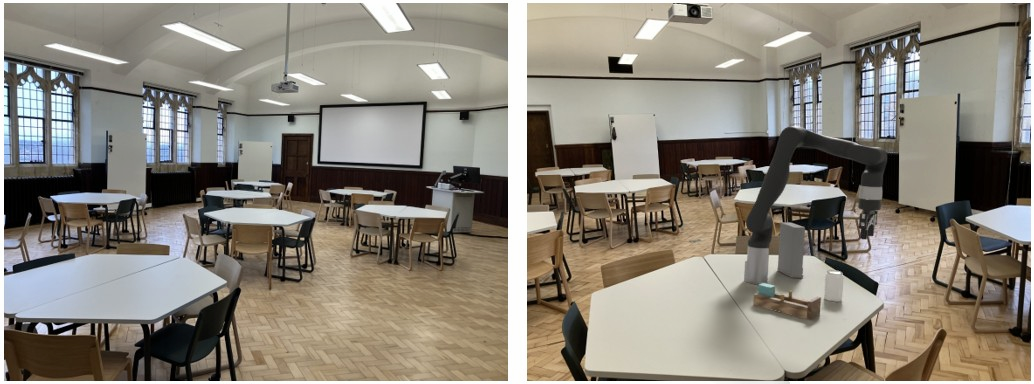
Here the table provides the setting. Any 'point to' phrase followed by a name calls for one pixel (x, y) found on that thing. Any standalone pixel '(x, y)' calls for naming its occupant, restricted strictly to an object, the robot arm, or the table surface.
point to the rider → (766, 290)
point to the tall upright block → (791, 249)
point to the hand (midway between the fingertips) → (866, 237)
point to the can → (833, 286)
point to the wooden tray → (790, 305)
